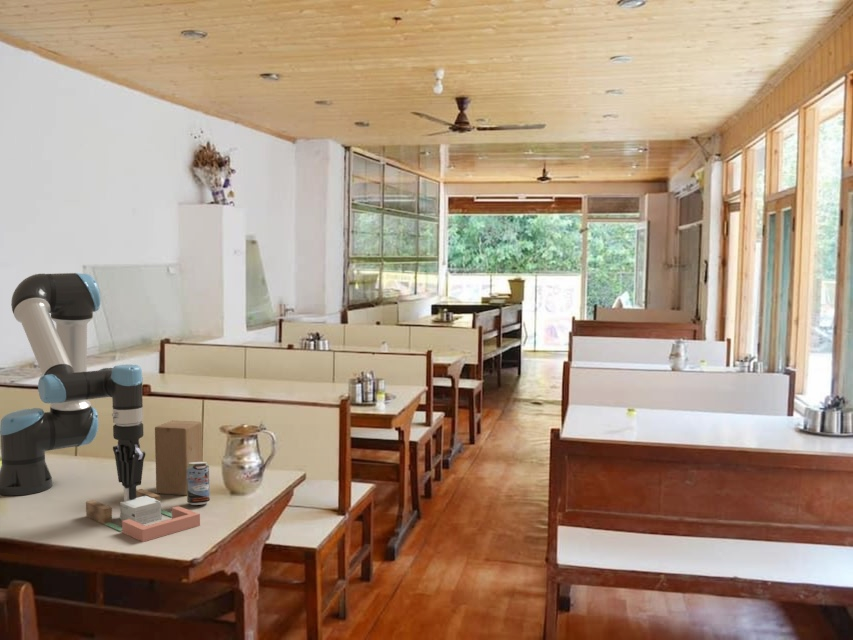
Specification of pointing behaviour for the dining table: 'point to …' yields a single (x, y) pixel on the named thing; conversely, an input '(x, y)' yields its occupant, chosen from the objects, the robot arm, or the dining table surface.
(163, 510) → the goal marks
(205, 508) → the dining table surface
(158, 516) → the small box
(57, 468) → the dining table surface
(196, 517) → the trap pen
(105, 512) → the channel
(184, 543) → the dining table surface
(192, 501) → the beverage can
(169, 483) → the wooden block
